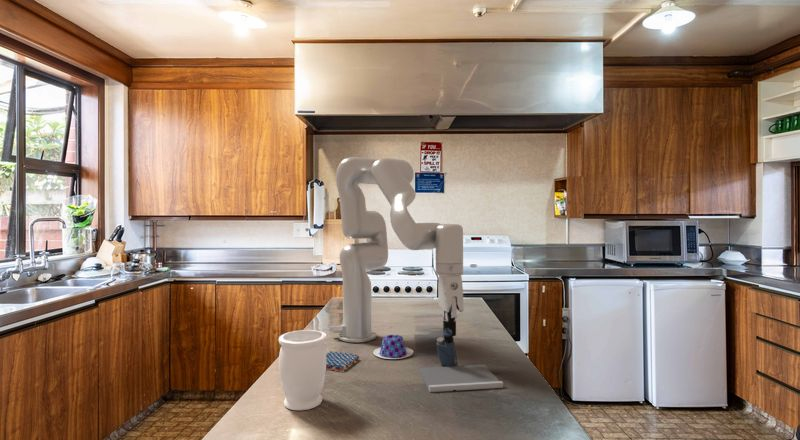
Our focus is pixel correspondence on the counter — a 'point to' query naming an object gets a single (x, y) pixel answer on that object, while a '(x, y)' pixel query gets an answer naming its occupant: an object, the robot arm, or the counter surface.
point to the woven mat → (340, 361)
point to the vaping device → (447, 349)
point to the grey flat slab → (459, 378)
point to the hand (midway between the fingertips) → (449, 335)
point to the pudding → (393, 348)
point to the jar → (302, 368)
